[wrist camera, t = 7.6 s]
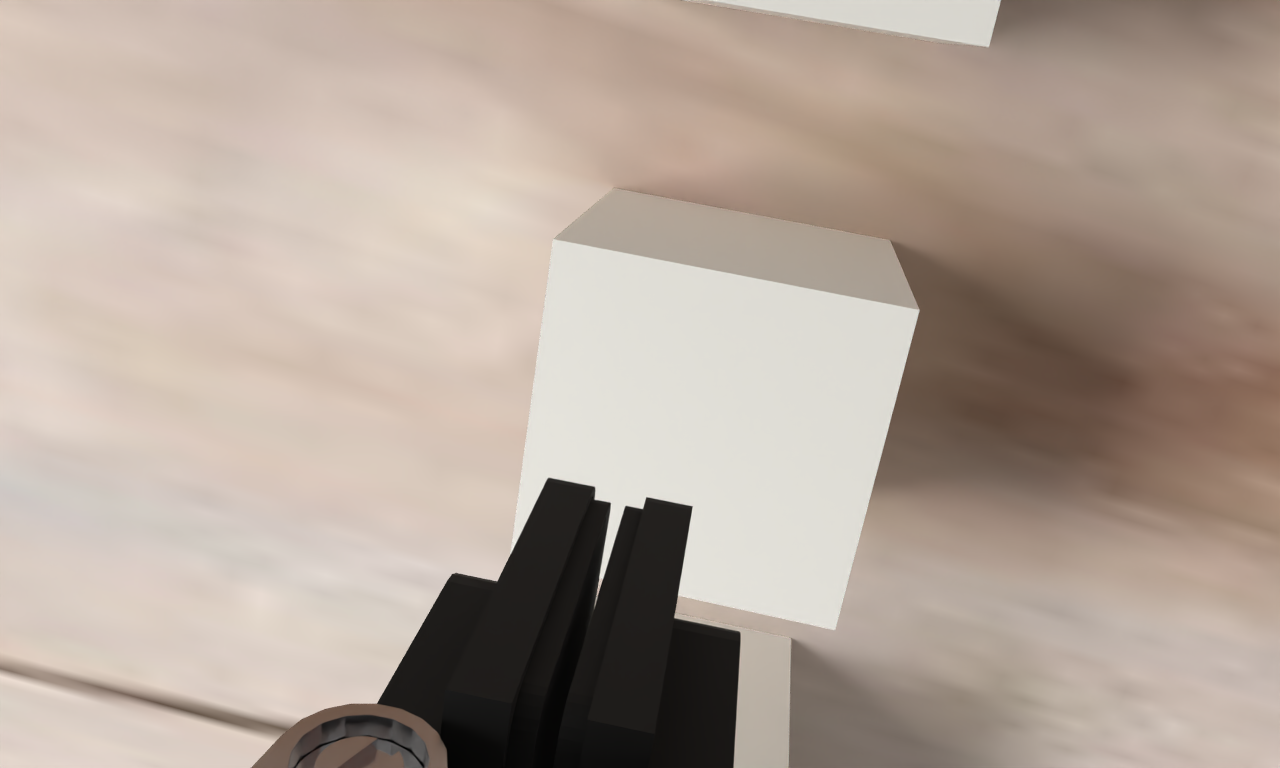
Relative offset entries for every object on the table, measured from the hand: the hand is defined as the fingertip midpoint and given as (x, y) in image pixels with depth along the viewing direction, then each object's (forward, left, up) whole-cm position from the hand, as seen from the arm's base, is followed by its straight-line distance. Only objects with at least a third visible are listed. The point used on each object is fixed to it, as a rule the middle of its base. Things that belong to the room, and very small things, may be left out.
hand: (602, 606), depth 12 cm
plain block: (0, +1, -12) cm, 12 cm away
